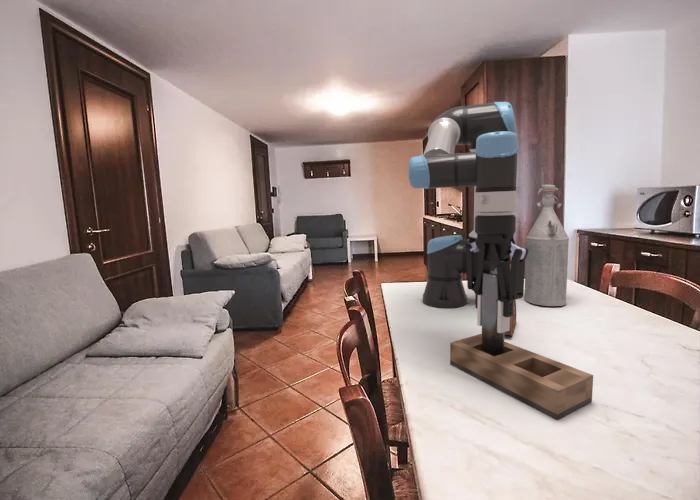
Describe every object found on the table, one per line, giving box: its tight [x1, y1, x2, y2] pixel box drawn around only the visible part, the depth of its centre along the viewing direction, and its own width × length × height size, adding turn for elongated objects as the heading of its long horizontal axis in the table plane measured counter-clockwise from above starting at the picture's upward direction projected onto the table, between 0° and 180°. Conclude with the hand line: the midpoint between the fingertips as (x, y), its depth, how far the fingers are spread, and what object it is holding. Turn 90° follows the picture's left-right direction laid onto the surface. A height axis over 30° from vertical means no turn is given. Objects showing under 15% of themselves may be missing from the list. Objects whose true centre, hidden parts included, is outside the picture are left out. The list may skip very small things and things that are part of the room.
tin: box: [504, 300, 517, 337], centre depth 98 cm, size 15×3×8 cm, turn 150°
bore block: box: [449, 333, 594, 421], centre depth 71 cm, size 24×10×5 cm, turn 29°
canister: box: [523, 184, 570, 307], centre depth 121 cm, size 13×17×40 cm
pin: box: [481, 271, 505, 353], centre depth 74 cm, size 4×4×16 cm
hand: (492, 327), depth 74 cm, fingers closed on pin, 4 cm apart
